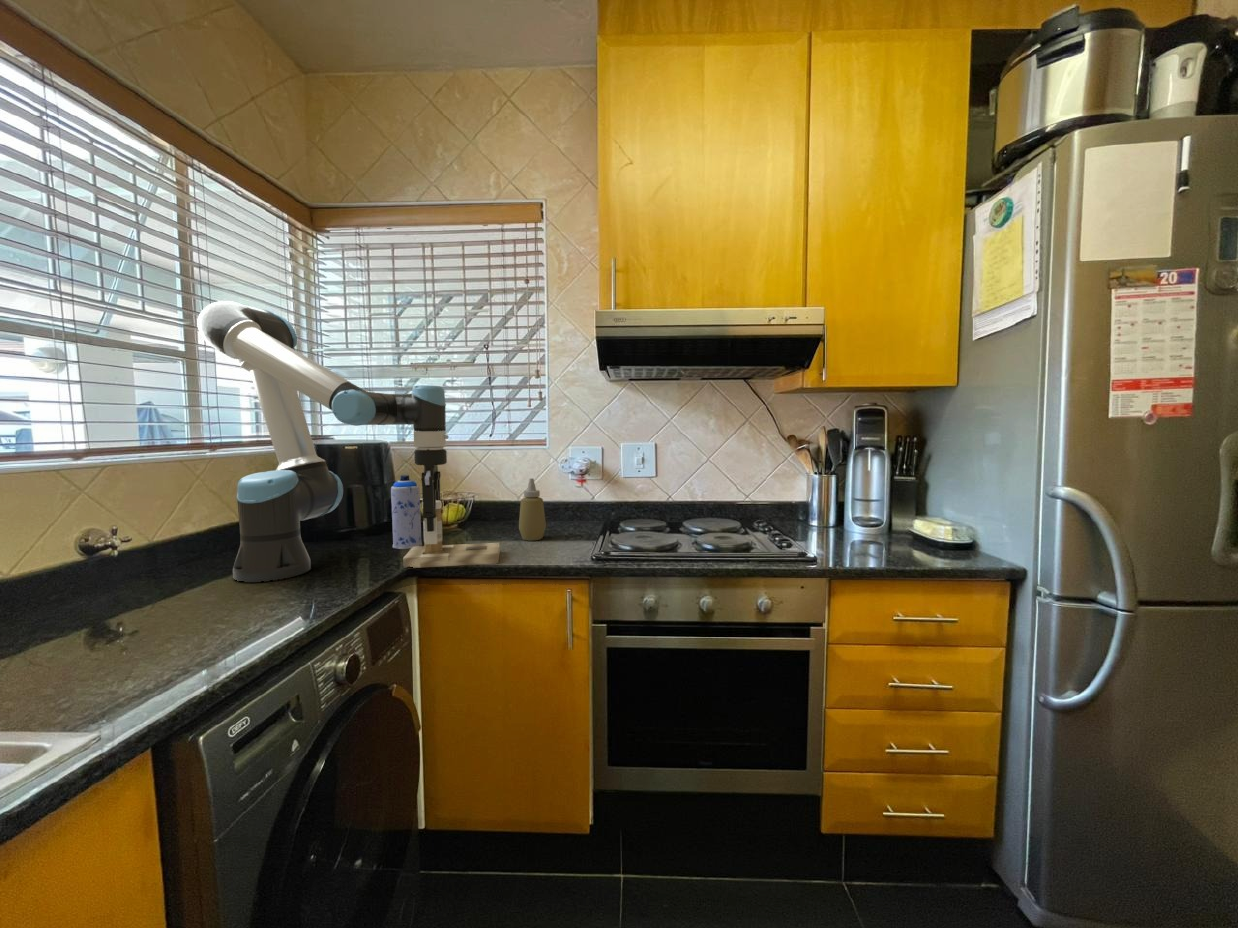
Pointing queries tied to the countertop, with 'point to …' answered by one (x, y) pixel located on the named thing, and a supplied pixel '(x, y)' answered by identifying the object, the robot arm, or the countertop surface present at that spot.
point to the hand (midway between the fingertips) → (433, 541)
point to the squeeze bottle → (532, 514)
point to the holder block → (454, 555)
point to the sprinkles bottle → (437, 547)
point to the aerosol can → (406, 513)
